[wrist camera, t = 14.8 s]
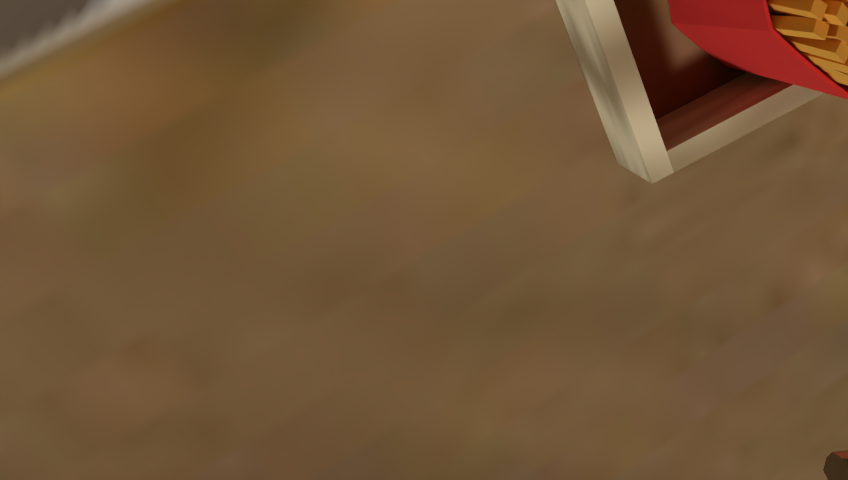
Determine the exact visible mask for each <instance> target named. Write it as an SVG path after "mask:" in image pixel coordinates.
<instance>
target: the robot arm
mask: <svg viewBox="0 0 848 480" xmlns="http://www.w3.org/2000/svg"><path fill="white" fill-rule="evenodd" d="M823 471H824V473H825V475H826V476H827V478H828V480H848V451H838V452H832V453H831V454H830V455H829V456H828V457H827V458H826V462H825V466H824V470H823Z"/></svg>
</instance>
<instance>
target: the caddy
mask: <svg viewBox="0 0 848 480" xmlns="http://www.w3.org/2000/svg"><path fill="white" fill-rule="evenodd" d="M556 3H557V5H558V8H559V10H560V13H561V16H562V18H563V21H564V23H565V26H566V29H567V31H568V34H569V37H570V39H571V42H572V44H573V47H574V50H575V52H576V55H577V57H578V60H579V63H580V65H581V68H582V71H583V73H584V76H585V78H586V81H587V84H588V86H589V89H590V91H591V94H592V97H593V99H594V102H595V105H596V107H597V110H598V112H599V115H600V118H601V120H602V123H603V126H604V128H605V131H606V133H607V136H608V139H609V141H610V144H611V146H612V149H613V152H614V154H615V157H616V160H617V162H618V164H620V165H622V166H623V167H625V168H627V169H628V170H630V171H632V172H633V173H635V174H637V175H638V176H640V177H642V178H643V179H645V180H647V181H648V182H650V183H652V184H653V183H655V182H657V181H658V180H660V179H662V178H664V177H666V176H668V175H670V174H672V173H674V172H676V171H677V170H679V169H681V168H683V167H685V166H687V165H689V164H691V163H693V162H695V161H696V160H698V159H700V158H702V157H704V156H706V155H708V154H710V153H712V152H714V151H715V150H717V149H719V148H721V147H723V146H725V145H727V144H729V143H731V142H733V141H734V140H736V139H738V138H740V137H742V136H744V135H746V134H748V133H750V132H752V131H753V130H755V129H757V128H759V127H761V126H763V125H765V124H767V123H769V122H771V121H772V120H774V119H776V118H778V117H780V116H782V115H784V114H786V113H788V112H790V111H791V110H793V109H795V108H797V107H799V106H801V105H803V104H805V103H807V102H808V101H810V100H812V99H814V98H816V97H818V96H820V95H822V94H824V93H823V92H820V91H816V90H812V89H808V88H805V87H801V86H797V85H794V84H790V83H786V82H783V81H779V80H775V79H771V78H768V77H764V76H760V75H757V74H753V73H749V72H746V73H744V74H743V75H741V76H739V77H737V78H735V79H733V80H731V81H729V82H727V83H725V84H724V85H722V86H720V87H718V88H716V89H714V90H712V91H710V92H708V93H706V94H705V95H703V96H701V97H699V98H697V99H695V100H693V101H691V102H689V103H687V104H686V105H684V106H682V107H680V108H678V109H676V110H674V111H672V112H670V113H668V114H667V115H665V116H663V117H661V118H659V119H657V120H655V117H654V114H653V111H652V108H651V106H650V103H649V100H648V97H647V94H646V91H645V88H644V86H643V83H642V80H641V77H640V74H639V71H638V69H637V66H636V63H635V60H634V57H633V54H632V51H631V49H630V46H629V43H628V40H627V37H626V34H625V31H624V29H623V26H622V23H621V20H620V17H619V14H618V11H617V9H616V6H615V3H614V0H556Z"/></svg>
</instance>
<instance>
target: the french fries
mask: <svg viewBox="0 0 848 480" xmlns="http://www.w3.org/2000/svg"><path fill="white" fill-rule="evenodd" d="M668 3H669V9H670V15H671V21H672V24H673V25H675V26H676V27H677V28H678V29H679V30H680V31H681V32H682V33H683V34H685V35H686V36H687V37H688V38H689V39H691V40H692V41H693V42H694V43H695V44H697V45H698V46H699V47H700V48H702V49H703V50H704V51H706V52H707V53H708V54H709V55H711V56H712V57H713V58H715V59H716V60H718V61H719V62H720V63H722V64H723V65H725V66H727V67H731V68H734V69H738V70H742V71H746V72H749V73H753V74H757V75H760V76H764V77H768V78H771V79H775V80H779V81H783V82H786V83H790V84H794V85H797V86H801V87H805V88H808V89H812V90H816V91H820V92H823V93H827V94H831V95H834V96H838V97H842V98H845V99H848V0H668Z"/></svg>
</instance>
